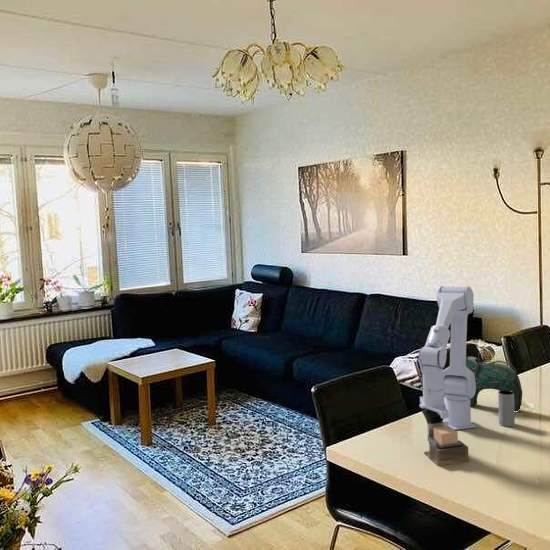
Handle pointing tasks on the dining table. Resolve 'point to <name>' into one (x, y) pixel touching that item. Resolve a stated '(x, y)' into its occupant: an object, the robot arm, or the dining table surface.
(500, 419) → the grey cylinder
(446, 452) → the dock
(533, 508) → the dining table surface
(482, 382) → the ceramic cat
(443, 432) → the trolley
